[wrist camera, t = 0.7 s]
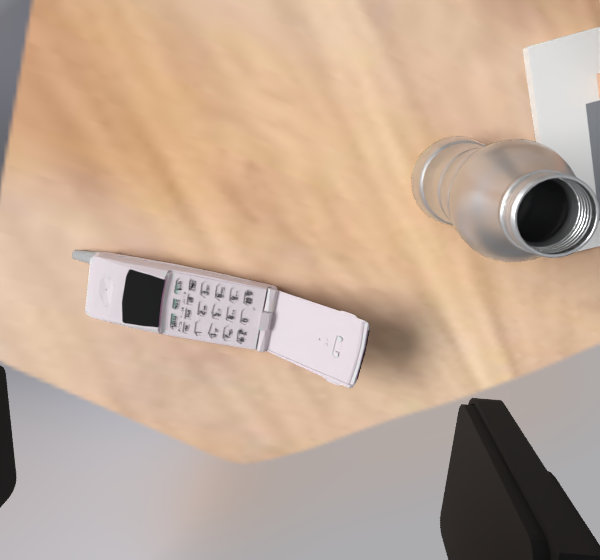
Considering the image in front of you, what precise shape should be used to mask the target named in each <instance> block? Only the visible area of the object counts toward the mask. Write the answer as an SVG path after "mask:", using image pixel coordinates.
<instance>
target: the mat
mask: <svg viewBox="0 0 600 560" xmlns="http://www.w3.org/2000/svg"><path fill="white" fill-rule="evenodd" d="M523 56H524V63H525V70H526V77H527V84H528V91H529V98H530V104H531V111H532V118H533V125H534V132H535V139H536V142H538V143H540V144H543V145H546V146H548V147H549V148H551V149H552V150H554V151H555V152H557V153H558V154H559V155H560V156H561V157H562V158H563V159H564V160H565V161H566V162H567V164H568V165H569V166H570V167H571V169H572V171H573V172H574V174H575V175H576V177H577V178H579V179H580V180H582V181H583V182H585V183H586V184H587V185H588V186H589V187H590V188H591V189H592V190H593V192H594V193H595V195H596V197H597V200H598V202H599V208H600V99H599V92H598V83H597V73H600V27H597V28H593V29H589V30H586V31H582V32H579V33H575V34H572V35H568V36H564V37H561V38H557V39H554V40H550V41H547V42H543V43H539V44H536V45H532V46H529V47H526V48H524V49H523ZM598 246H600V218H599V223H598V226H597V229H596V231H595V233H594V235H593V236H592V238H591V239H590V240H589V242H588V243H587V244H586V245H584V246H583V247H582V248H581V249H579V250H578V251H581V250H585V249H590V248H594V247H598ZM576 252H577V251H576Z"/></svg>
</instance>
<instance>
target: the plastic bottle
mask: <svg viewBox="0 0 600 560" xmlns="http://www.w3.org/2000/svg"><path fill="white" fill-rule="evenodd" d="M411 179H412V191H413V196H414V198H415V200H416V202H417V204H418V206H419V207H420V209H421V210H422V211H423V212H424V213H425V214H426V215H427V216H428V217H430V218H432V219H433V220H435V221H437V222H440V223H443V224H447V225H453V226H454V227H455V229H456V231H457V232H458V233H459V235H460V236H461V238H462V239H463V240H464V241H465V242H466V243H467V244H468V245H469V246H470V247H471V248H472V249H473V250H475V251H476V252H478V253H479V254H481V255H483V256H485V257H487V258H490V259H493V260H497V261H503V262H521V261H528V260H532V259H536V258H539V257H541V256H543V257H550V258H554V257H563V256H567V255H570V254H572V253H575V252H576V251H578V250H579V249H581V248H582V247H583V246H584V245H586V244H587V243H588V242H589V240H590V239H591V238H592V236H593V235H594V233H595V231H596V229H597V226H598V223H599V218H600V208H599V202H598V200H597V197H596V195H595V193H594V192H593V190H592V189H591V188H590V187H589V186H588V185H587V184H586V183H585V182H583V181H582V180H580V179H579V178H577V177H576V175H575V174H574V172H573V171H572V169H571V167H570V166H569V165H568V164H567V162H566V161H565V160H564V159H563V158H562V157H561V156H560V155H559V154H558V153H557V152H555V151H554V150H552V149H551V148H549V147H548V146H546V145H543V144H540V143H538V142H535V141H530V140H524V139H518V140H505V141H500V142H496V143H492V144H490V145H488V146H485V145H484V144H482V143H481V142H479V141H477V140H474V139H471V138H468V137H462V136H456V137H448V138H444V139H441V140H439V141H437V142H435V143H433V144H432V145H431V146H429V147H428V148H427V149H426V150H425V151H424V152H423V153H422V154H421V155H420V156H419V158H418V160H417V161H416V163H415V166H414V168H413V172H412V177H411Z"/></svg>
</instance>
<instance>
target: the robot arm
mask: <svg viewBox="0 0 600 560" xmlns="http://www.w3.org/2000/svg"><path fill="white" fill-rule="evenodd" d="M15 484H16V468H15V459H14V449H13V439H12V430H11V420H10V410H9V401H8V391H7V382H6V373H5V370H4V368H3V367H2V366H0V507H1V506H2V505H3V504H4V503H5V501H6V500H7V499H8V498H9V497H10V495H11V493H12V492H13V490H14V487H15ZM440 528H441V535H442V538H443V542H444V546H445V549H446V552H447V556H448V560H600V545H599V544H598V542H597V540H596V539H595V537H594V536H593V535H592V533H591V531H590V530H589V528H588V527H587V525H586V524H585V522H584V521H583V519H582V518H581V516H580V515H579V513H578V511H577V510H576V508H575V507H574V505H573V504H572V502H571V501H570V499H569V498H568V496H567V495H566V493H565V492H564V490H563V488H562V487H561V486H560V484H559V482H558V481H557V479H556V478H555V477H554V475H552V473H551V472H549V471H547V470H546V468H545V467H544V465H543V464H542V462H541V461H540V459H539V458H538V456H537V455H536V453H535V451H534V450H533V448H532V447H531V445H530V444H529V442H528V441H527V439H526V437H525V436H524V434H523V433H522V431H521V430H520V428H519V426H518V425H517V423H516V422H515V420H514V419H513V417H512V416H511V414H510V412H509V411H508V409H507V408H506V406H505V405H504V403H503V402H502V401H501V400H489V399H478V398H472V399H471V400H470V401H469V404H468V405H463V404H462V405H461V406H460V408H459V412H458V417H457V423H456V429H455V434H454V441H453V446H452V452H451V458H450V464H449V469H448V475H447V481H446V487H445V492H444V498H443V504H442V510H441V517H440Z"/></svg>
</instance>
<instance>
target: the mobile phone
mask: <svg viewBox="0 0 600 560" xmlns="http://www.w3.org/2000/svg"><path fill="white" fill-rule="evenodd" d="M72 257H73V259H76V260H79V261H83V262H86V263H90V267H89V277H88V288H87V298H86V309H85V310H86V313H87V315H88V316H90V317H92V318H96V319H99V320H103V321H107V322H111V323H115V324H119V325H123V326H127V327H131V328H135V329H140V330H145V331H149V332H154V333H159V334H166V335H171V336H176V337H181V338H187V339H192V340H198V341H204V342H210V343H216V344H222V345H228V346H235V347H241V348H247V349H253V350H258V351H259V352H265V351H268V352H270V353H272V354H274V355H277V356H279V357H281V358H283V359H285V360H287V361H290V362H292V363H294V364H296V365H298V366H301V367H303V368H305V369H307V370H309V371H311V372H314V373H316V374H318V375H320V376H322V377H324V378H325V380H327V381H329V382H331V383H333V384H336V385H339V386H340V384H341V385H343V386H345V387H348V388H352V387H353V386H354V385H355V383H356V381H357V379H358V376H359V372H360V369H361V365H362V362H363V358H364V354H365V351H366V346H367V341H368V335H369V330H370V327H369V324H368V322H366V321H364V320H361V319H359V318H356V315H354V314H351V313H348V312H345V311H338V310H335V309H332V308H329V307H326V306H323V305H320V304H317V303H314V302H311V301H308V300H305V299H302V298H299V297H296V296H293V295H290V294H288V293H285V292H282V291H279V290H278V289H277V287H276V286H274V285H270V284H266V283H261V282H257V281H252V280H248V279H244V278H239V277H235V276H230V275H226V274H221V273H217V272H213V271H208V270H203V269H198V268H193V267H188V266H183V265H179V264H174V263H168V262H162V261H156V260H150V259H145V258H140V257H134V256H128V255H122V254H116V253H110V252H101V253H100V252H91V251H83V250H74V251H73V255H72Z"/></svg>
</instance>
